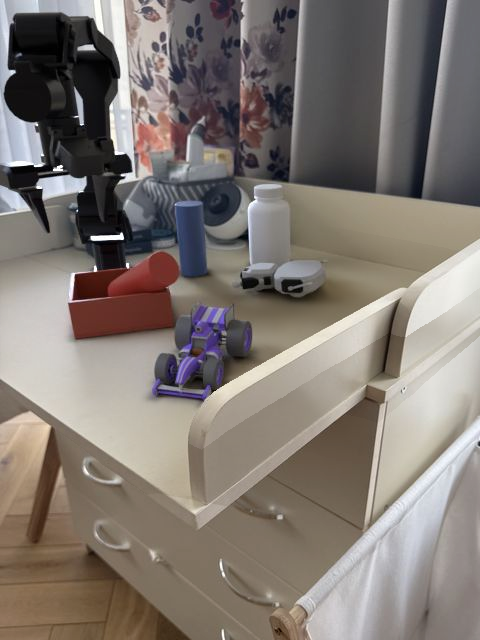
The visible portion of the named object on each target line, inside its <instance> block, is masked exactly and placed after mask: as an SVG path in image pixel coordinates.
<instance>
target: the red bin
mask: <svg viewBox="0 0 480 640" xmlns="http://www.w3.org/2000/svg"><path fill="white" fill-rule="evenodd" d="M132 267H133V266H131V267H130V266H129V268H120V269H110V270H100V271H94V270H92V271H82V272H81V271H79V272H72V273H70V280H69V281H70V282H69V290H68V298H67V306H68V311H69V316H70V322H71V327H72V331H73V336H74V339H75V340H78V339H86V338H94V337H100V336H101V337H102V336H110V335H116V334H117V335H118V334H125V333H132V332H133V333H134V332H140V331H149V330H156V329H163V328H173V327H174V317H173V308H172V297H171V291H170V288H169V287H170V286H168V287H166V288H165V289H163V290H161V291H159V292H150V293H141V294H132V295H123V296H114V297H109V296H108V287H109V284H110V283H111V282H112V281H113V280H115V279H116V278H118V277H119V276H121V275H122V274H124V273H125V272H126V271H128V270H129V269H131V268H132Z"/></svg>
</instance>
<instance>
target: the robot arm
mask: <svg viewBox="0 0 480 640" xmlns="http://www.w3.org/2000/svg"><path fill="white" fill-rule="evenodd" d="M8 29H9V30H8V45H7V46H8V48H7V65H6V66H7V70H8V71H13V72H14V73H12V74H11V75H10V76H9V77H8V78H7V79H6V82H5V83H4V88H3V100H4V102H5V105H6V107H7V108H8V111H10V113H11V114H12V115H13V116H14V117H16V118H17V119H19V120H20V121H22V122H25V123H30V124H32V123H36V124H34V130H35V133H37V134H38V135H39V139H40V145H41V150H42V154H41V155H39V156H40V160H41V161H40V162H41V163H43V164H37V165H35V164H34V163H31V162H28V161H23V160H19V161H9V162H0V186H1V187H3V188H6V189H8V190H9V191H11V192H14V193H17V194H18V195H19V196H20V198H21V199H22V200H23V201H24V202H25V203H26V205H27V206H28V208H29V209H30V211H31V212H32V214H33V216H34V218H35V219H36V220H37V222H38V223H39V226H40V227H41V228H42V229H43V231H44V232H45V233H46V234H51V228H50V227H51V226H50V221H49V217H48V214H47V211H46V207H45V203H44V198H43V196H44V195H43V193H44V187H41V186H38V182H39V181H40V180H43V179H49V178H55V177H57V178H58V177H64V176H70V177H72V178H74V179H84V178H85V181H86V184H85V186H84V187H83V190H82V191H78V192H77V194H76V205H77V210H76V211H75V216H74V221H75V225H76V230H77V233H78V236H79V239H80V242H81V245H92V253H93V258H94V264H95V266H94V268H93V269H94V270H93V271H100V270H110V269H120V268H130V265H129V264H130V263H129V262H127V257H126V250H125V244H129V242H132V241H135V238H134V230H133V226H132V224H131V220H130V218H129V216H128V214H127V212H126V209H124V204H123V201H122V200H121V198H120V197H119V196H118V195H119V194H117V192H116V190H115V188H116V187H117V185H118V184H119V183H120V182H121V181H122V180H125V179H126V174H132V173H133V172H134V171H133V162H132V158H131V157H130V156H129V155H128V154H127V153H126V152H121V151H116V150H115V144H114V140H113V139H112V133H111V131H112V130H111V113H110V111H111V105H112V104H113V101H114V100H115V98H116V96H117V95H118V93H119V80H120V79H121V76H122V74H121V65H120V60H119V57H118V54H117V51H116V48H115V46H114V45H115V44H114V43H113V42H112V41H111V40H110V39H109V38H108V37H107V36H106V35H104V33H102V31H100V30H99V29H98V26H97V24H96V20H95V18H93V17H90V16H88V15H71V16H70V15H68V14H66V13H64V12H62V11H51V12H49V11H48V12H47V11H46V12H45V11H43V12H16V13H14V14H13V16H12V22H11V23H10V24H9V28H8ZM83 46H92V47H93V49H82V50H81V49H79V48H81V47H83ZM76 92H77V94H78V95H79V97H80V98H81V101H82V117H83V118H82V119H83V123H81V122H80V116H79V109H78V102H77V96H76Z"/></svg>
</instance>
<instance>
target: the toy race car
mask: <svg viewBox="0 0 480 640" xmlns="http://www.w3.org/2000/svg"><path fill="white" fill-rule="evenodd" d="M223 332H225V333H226V334H223ZM173 337H174V344H175V347H176V349H177V350H178V351H179V352H178V355H177V356H178V357H177V356H176V355H175V354H174V353H168V352H167V353H166V352H161V353H159V354H158V355H157V358H156V360H155V362H154V363H155V364H154V372H153V374H154V380H155V383H154V385H153V387H152V388H151V391H152V396H157V395H158V394H165V395H174V396H180V397H188V398H196V399H202V402H203V403H205V402H204V400H205V399H206V398H207V397H208V396H209V395H210V394H211V393H212V390H214V391H217V390H216V389H218V388H219V387H220V388H221V387H222V386H223V381H224V377H225V355H223V351H222V349H221V346H225V349H226V352H227V354H228V356H231V357H241V358H247V357H248V355H249V353H250V352H251V348H252V344H253V325H252V323H251V321H250V320H246V319H235V303H234V302H233V303H231V304H230V306H229V307H225V308H222V307H211V306H210V307H209V306H208V305H203V303H202V300H199V301H198V302H197V303H196V304H195V305H194V306H193V308H191V311H190V314H189V315H188V314H181V315H180V316H179V317H178V319H177V320H176V324H175V327H174V336H173ZM223 342H225V343H223ZM178 362H179V364H178ZM195 378H196V379H202V383H203V387H204V389H195V388H194V389H193V388H187V387H184V385H185V383H186V382H192V381H193V380H194V379H195ZM173 382H174V384H175V385H178V386H170V385H171V384H173ZM211 395H212V394H211Z"/></svg>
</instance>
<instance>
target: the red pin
mask: <svg viewBox="0 0 480 640" xmlns="http://www.w3.org/2000/svg"><path fill="white" fill-rule="evenodd" d="M131 267H132V268H131V269H129V270H128V271H126V272H125V273H124V274H122V275H121V276H119V277H118V278H116V279H115V280H113V281H112V282H111V283H110V284H109V287H108V296H109V297H114V296H123V295H132V294H141V293H150V292H159V291H161V290H163V289H165V288H166V287H170V286H172V285H173V284H175V283H176V282H177V281H178V279H179V277H180V265H179V264H178V261H177V260H176V258H174V256H173V255H171V254H170V253H168V252H167V251H162V250H158V251H155V252H153V253H152V254H150V255H149V256H147V257H145V258H144V259H143V260H142V261H140V262H137V264H135V265H134V266H131Z"/></svg>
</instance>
